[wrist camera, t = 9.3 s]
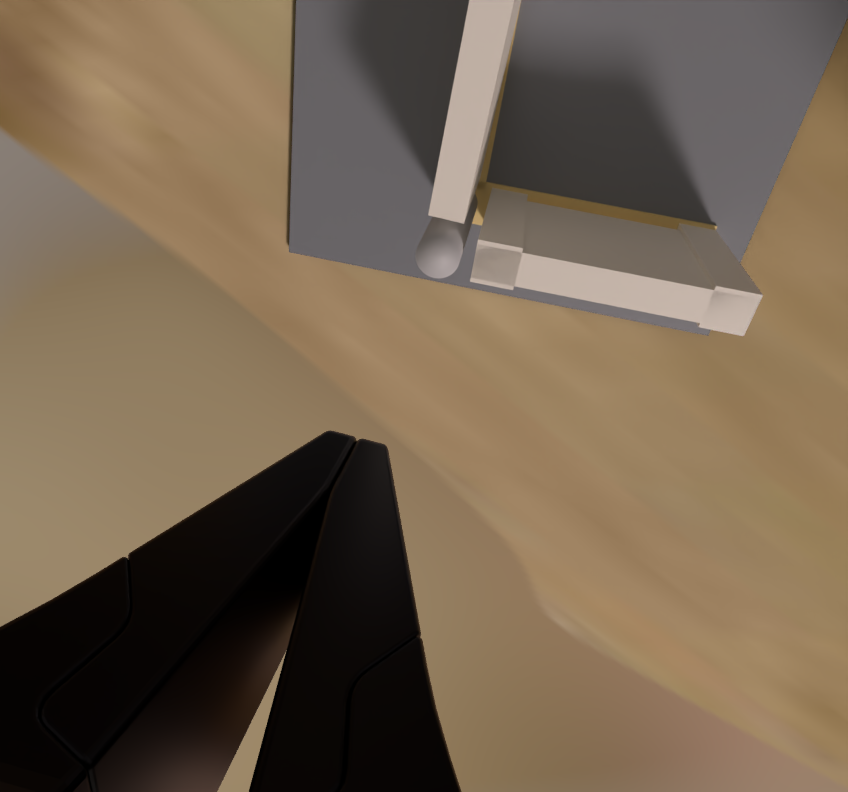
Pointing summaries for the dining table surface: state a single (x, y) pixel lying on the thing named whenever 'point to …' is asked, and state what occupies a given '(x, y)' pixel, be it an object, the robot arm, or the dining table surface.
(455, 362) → the dining table surface
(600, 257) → the fixed panel
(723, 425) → the dining table surface
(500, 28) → the swing panel
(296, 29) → the board
